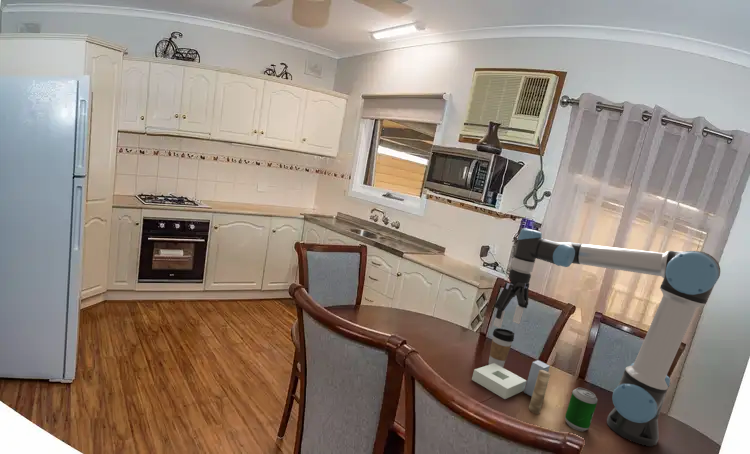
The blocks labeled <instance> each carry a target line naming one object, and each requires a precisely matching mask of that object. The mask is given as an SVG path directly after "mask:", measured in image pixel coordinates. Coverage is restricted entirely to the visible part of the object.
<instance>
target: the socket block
mask: <svg viewBox="0 0 750 454" xmlns="http://www.w3.org/2000/svg"><path fill="white" fill-rule="evenodd" d="M471 380H472V381H473V382H475V383H476V384H478V385H480V386H482V387H483V388H486V389H487V390H488V391H490V392H492V393H493V394H496V395H497V396H499V397H500V398H502V399H504V400H506V399H509V398H511V397H513V396H515V395H518V394H520V393H521V392H524V391H525V387H526V383H527V380H528V379H527V380H526V379H524V378H523V377H521V376H519V375H517V374H516V373H513V372H512V371H510V370H508V369H506V368H504V367H503V368H502V367H501V366H499V365H497V364H495V363H492V364H489V363H488V365H487V364H486V365H485V366H482V367H478V368H475V369H473V373H472V377H471Z"/></svg>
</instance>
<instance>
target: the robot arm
mask: <svg viewBox="0 0 750 454" xmlns="http://www.w3.org/2000/svg"><path fill="white" fill-rule="evenodd" d="M536 259H537V260H540V261H544V262H547V263H550V264H553V265H556V266H558V267H564V268H568V267H570V266H571V265H572V264H575V265H581V266H582V265H583V266H590V267H598V268H604V269H610V270H616V271H617V270H618V271H623V272H630V273H638V274H643V275H651V276H657V277H661V278H662V279H663V280H662V282H661V285H660V286H659V289H660V291H661V293H662V297H661V300H660V303H659V305H658V306H657V310H656V311H655V314H654V316H653V318H652V321H651V323H650V325H649V328H648V330H647V331H646V332H647V333H646V335H645V337H644V339H643V341H642V343H641V346H640V349H639V351H638V354H637V356H636V358H635V360H634V362H632V363H631V364H630V365H628V366H626V367H625V369H624V371H623V374H622V376H621V378H620V380H619V383H618V385H617V386H616V387H615V388H614V389H613V392H612V400H611V401H612V404H613V405H614V406H613V407H614V408H612V410H610V412H609V414H608V415H607V417H606V424H607V426H608V427H609V428H610V429H611V430H612V431H613V432H614V433H616V434H617V435H619V436H620V437H621V438H623V439H625V438H626V440H627V439H629V440H631V441H630V442H632V441H633V442H632V443H634V442H636V443H635V444H637V443H639V444H638V445H640V444H642V445H641V446H644V445H646V446H645V447H654V446H653V445H655V446H657V444H658V441H659V439H660V438H659V437H660V435H659V434H660V433H659V421H658V419H659V416H660V413H661V411H662V408H663V405H664V402H665V400H666V399H665V398H666V396H667V393H668V389H669V388H670V384H671V378H670V376H668V373H669V371H670V369H671V366H672V364H673V362H674V359H675V357H676V355H677V353H678V350H679V348H680V347H681V344H682V342H683V340H684V337H685V335H686V333H687V331H688V329H689V327H690V324H691V322H692V319H693V317H694V315H695V314H696V310H697V308H699V307H703V306H705V305H706V304H707V302H708V300H709V298H710V296H711V293H712V292H713V289H714V287H715V285H716V284H717V282H718V280H719V278H720V276H721V267H720V264H719V262H718V260H717V259H716V258H715V257H714V256H712V255H710V254H709V253H707V252H705V251H700V250H689V251H687V250H686V251H675V250H668V251H666V252H657V251H647V250H640V249H630V248H621V247H612V246H604V245H596V244H586V243H578V242H573V241H566V242H565V241H563V242H562V241H559V242H558V241H553V240H550V239H546V238H543V233H542V232H541V231H539V230H535V229H531V228H525V227H524V228H522V229H521V230H520V233H519V236H518V238H517V242H516V246H515V251H514V254H513V258H512V259H511V260H512V262H511V265H510V266H511V268H510V269H509V273H508V278H509V280H510V283H508V282H505V284H504V285H503V288H502V290H501V292H500V294H499V296H498V298H497V300H496V302H495V304H494V308H495V309H496V314H495V317H494V321H493V327H497V328H501V329H502V325H503V322H504V321H503V320H504V318H505V313H506V311H505V310H506V308H507V307H508V305H509V303H510V302H511V301H512V299H513V298H515V297H516V300H517V304H518V305H516V306H515V311H514V314H513V318H512V322H513V323H515V324H518V325H520V324H521V320H522V316H523V312H524V310H525V309H527V308H528V305H529V290H530V289H529V288H530V281H531V278H532V273H533V270H534V266H535V262H536ZM706 306H707V305H706ZM629 440H628V441H629Z"/></svg>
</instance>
